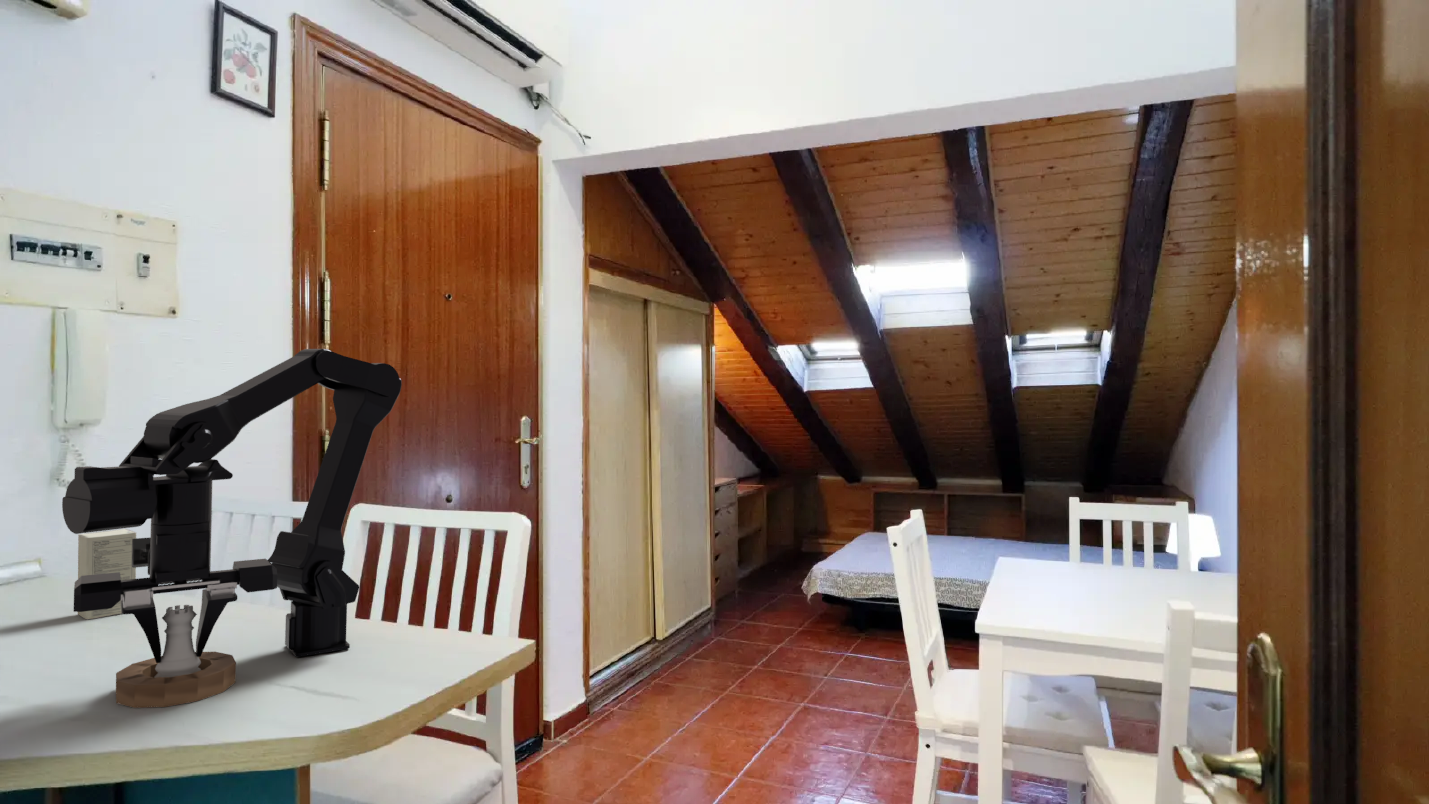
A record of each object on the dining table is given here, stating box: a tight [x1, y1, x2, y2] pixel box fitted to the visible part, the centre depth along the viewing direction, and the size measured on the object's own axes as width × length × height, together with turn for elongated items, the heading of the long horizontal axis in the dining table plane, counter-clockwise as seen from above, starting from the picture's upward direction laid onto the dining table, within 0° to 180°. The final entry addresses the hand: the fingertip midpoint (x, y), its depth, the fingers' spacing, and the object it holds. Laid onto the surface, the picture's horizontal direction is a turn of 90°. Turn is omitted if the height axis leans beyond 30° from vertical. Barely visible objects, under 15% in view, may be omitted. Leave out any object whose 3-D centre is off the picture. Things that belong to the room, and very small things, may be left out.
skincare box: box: [77, 528, 137, 620], centre depth 117 cm, size 6×4×12 cm
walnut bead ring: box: [115, 651, 237, 709], centre depth 89 cm, size 11×11×2 cm
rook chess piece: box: [155, 604, 201, 677], centre depth 89 cm, size 4×4×8 cm
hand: (178, 658), depth 89 cm, fingers closed on rook chess piece, 3 cm apart
